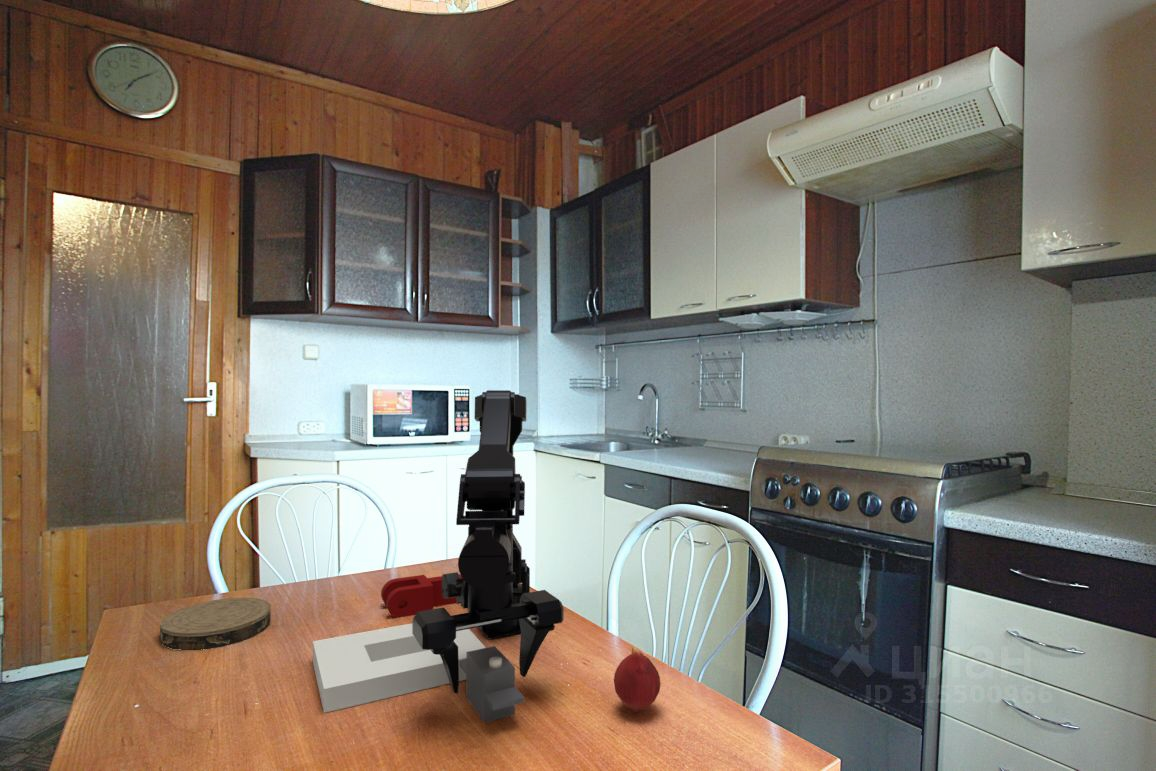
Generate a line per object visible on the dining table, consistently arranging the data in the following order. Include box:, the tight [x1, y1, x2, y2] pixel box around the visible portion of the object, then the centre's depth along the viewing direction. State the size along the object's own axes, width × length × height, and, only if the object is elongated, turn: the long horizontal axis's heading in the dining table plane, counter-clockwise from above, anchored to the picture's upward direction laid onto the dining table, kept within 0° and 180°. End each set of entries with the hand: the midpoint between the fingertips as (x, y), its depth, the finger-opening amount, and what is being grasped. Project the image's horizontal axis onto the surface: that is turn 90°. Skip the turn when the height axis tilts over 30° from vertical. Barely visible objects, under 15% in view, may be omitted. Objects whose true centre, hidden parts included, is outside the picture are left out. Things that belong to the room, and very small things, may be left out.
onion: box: [613, 646, 661, 713], centre depth 76 cm, size 6×6×8 cm
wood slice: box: [159, 596, 271, 651], centre depth 101 cm, size 16×16×3 cm
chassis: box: [312, 623, 487, 714], centre depth 88 cm, size 22×16×3 cm
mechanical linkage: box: [380, 573, 462, 619], centre depth 113 cm, size 16×7×5 cm, turn 117°
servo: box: [459, 645, 525, 724], centre depth 78 cm, size 13×4×7 cm, turn 28°
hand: (489, 683), depth 78 cm, fingers open, 9 cm apart
